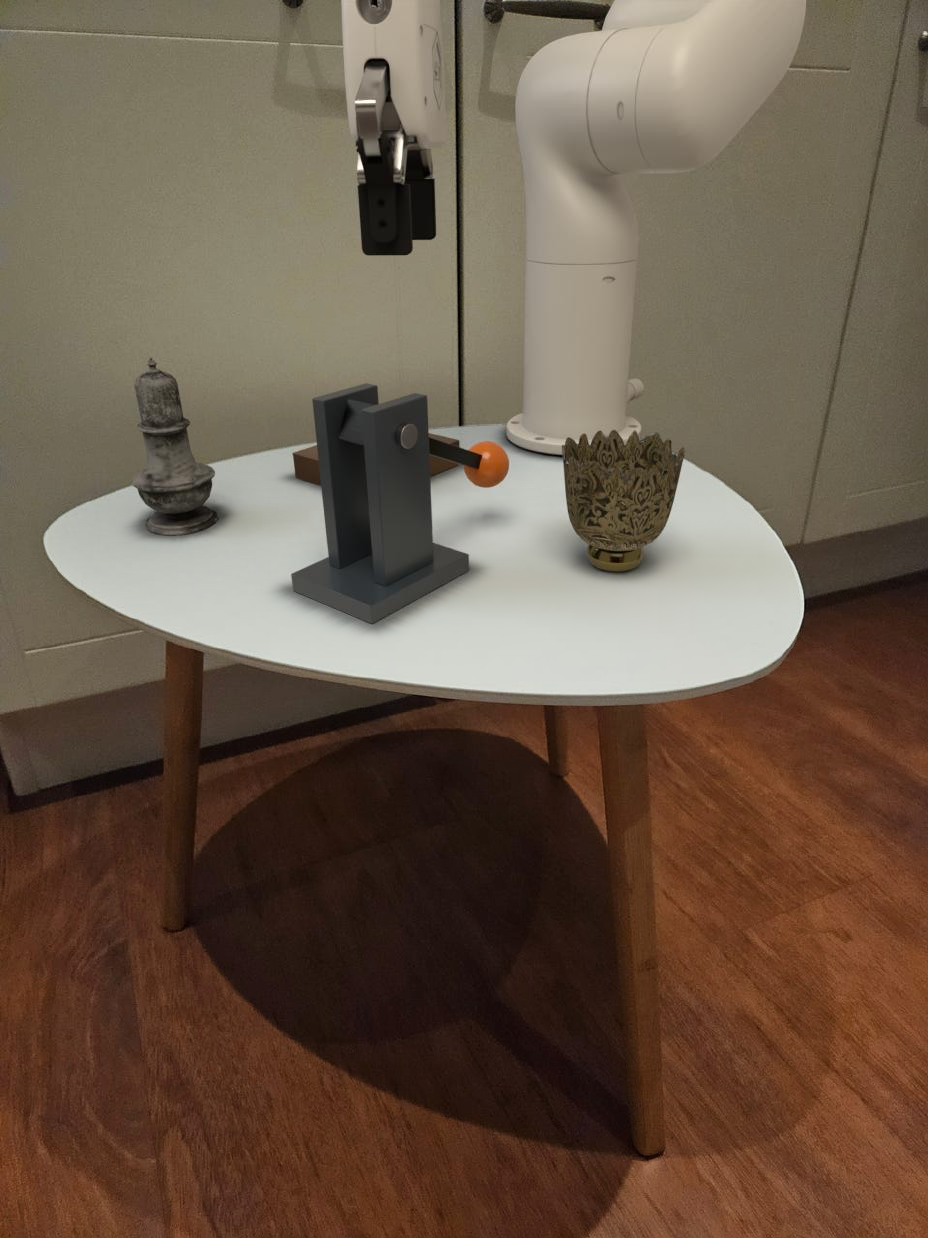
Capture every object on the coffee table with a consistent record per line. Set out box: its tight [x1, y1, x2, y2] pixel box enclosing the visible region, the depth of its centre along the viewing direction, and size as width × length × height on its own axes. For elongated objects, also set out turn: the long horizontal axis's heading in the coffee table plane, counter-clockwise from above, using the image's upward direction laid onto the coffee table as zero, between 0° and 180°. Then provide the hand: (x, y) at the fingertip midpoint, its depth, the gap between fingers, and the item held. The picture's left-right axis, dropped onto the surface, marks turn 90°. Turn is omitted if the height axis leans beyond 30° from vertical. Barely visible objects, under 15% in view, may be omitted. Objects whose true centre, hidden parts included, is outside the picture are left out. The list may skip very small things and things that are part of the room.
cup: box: [562, 430, 686, 572], centre depth 54 cm, size 8×7×8 cm
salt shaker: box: [130, 357, 219, 536], centre depth 61 cm, size 6×6×12 cm
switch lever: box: [338, 399, 510, 489], centre depth 55 cm, size 15×3×3 cm, turn 141°
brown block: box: [292, 432, 461, 486], centre depth 72 cm, size 11×9×4 cm
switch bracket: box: [290, 382, 470, 624], centre depth 52 cm, size 9×7×12 cm
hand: (402, 246), depth 59 cm, fingers open, 9 cm apart
